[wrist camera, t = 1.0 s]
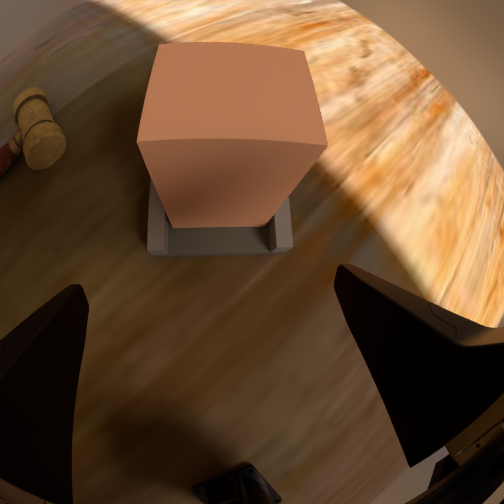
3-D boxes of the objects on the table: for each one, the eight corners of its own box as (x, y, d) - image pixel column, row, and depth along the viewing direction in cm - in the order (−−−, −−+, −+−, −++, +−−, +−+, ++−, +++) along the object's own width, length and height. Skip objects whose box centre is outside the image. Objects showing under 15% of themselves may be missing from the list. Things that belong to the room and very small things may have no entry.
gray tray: (281, 254, 22) (297, 244, 18) (155, 257, 21) (143, 247, 17) (265, 84, 25) (273, 59, 21) (170, 83, 24) (167, 56, 20)
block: (264, 226, 21) (328, 145, 9) (173, 228, 20) (136, 141, 8) (259, 158, 22) (303, 51, 10) (175, 158, 21) (159, 44, 9)
